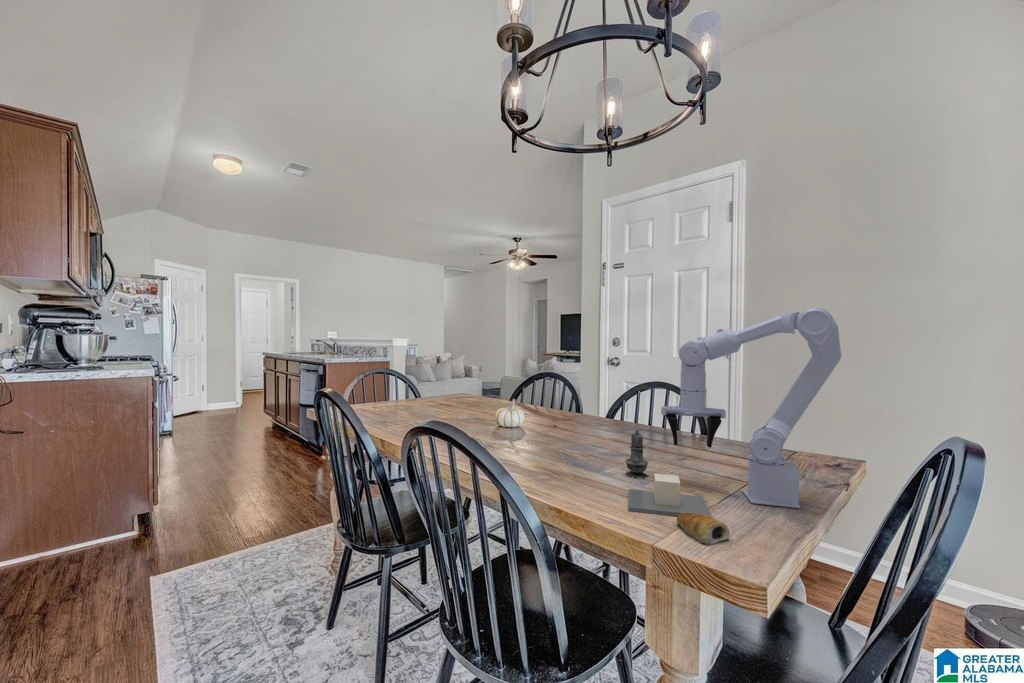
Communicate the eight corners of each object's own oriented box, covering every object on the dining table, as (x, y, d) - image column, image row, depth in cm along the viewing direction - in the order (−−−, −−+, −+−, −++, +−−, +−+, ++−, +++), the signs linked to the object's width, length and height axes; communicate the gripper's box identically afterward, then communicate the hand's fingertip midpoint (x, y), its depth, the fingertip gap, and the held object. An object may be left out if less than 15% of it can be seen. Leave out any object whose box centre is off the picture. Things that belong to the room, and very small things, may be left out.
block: (677, 498, 94) (678, 475, 94) (680, 506, 90) (680, 483, 90) (654, 495, 96) (654, 473, 96) (655, 504, 91) (655, 480, 91)
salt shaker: (649, 479, 109) (650, 433, 109) (625, 478, 110) (626, 431, 110) (646, 472, 115) (647, 428, 114) (624, 471, 116) (625, 427, 116)
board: (702, 499, 96) (702, 496, 96) (711, 520, 85) (711, 516, 85) (628, 492, 100) (628, 489, 100) (628, 510, 89) (628, 507, 89)
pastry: (667, 525, 83) (667, 506, 83) (693, 520, 86) (694, 501, 85) (706, 548, 74) (706, 526, 74) (734, 541, 77) (734, 520, 77)
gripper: (721, 389, 107) (721, 443, 107) (660, 387, 110) (660, 439, 111) (728, 393, 100) (727, 450, 100) (662, 390, 104) (662, 446, 104)
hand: (692, 445), depth 105 cm, fingers open, 7 cm apart
